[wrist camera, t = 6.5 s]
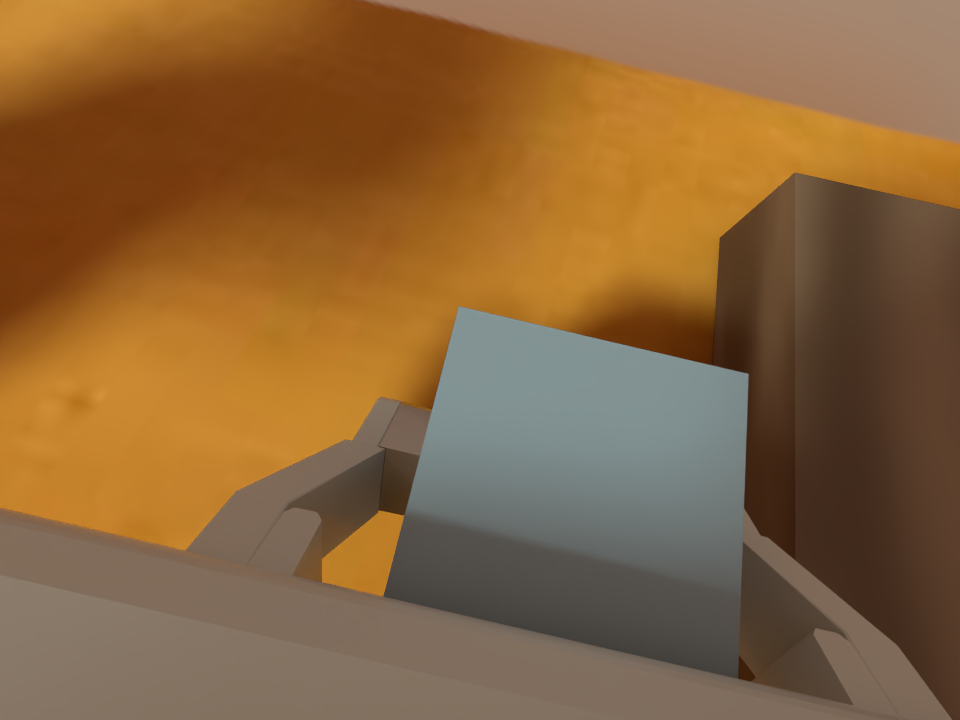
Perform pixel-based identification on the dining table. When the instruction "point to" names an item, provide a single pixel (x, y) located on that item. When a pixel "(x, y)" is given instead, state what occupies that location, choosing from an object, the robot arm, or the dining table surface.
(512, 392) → the block
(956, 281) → the plinth
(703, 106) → the dining table surface
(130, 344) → the dining table surface
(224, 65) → the dining table surface
